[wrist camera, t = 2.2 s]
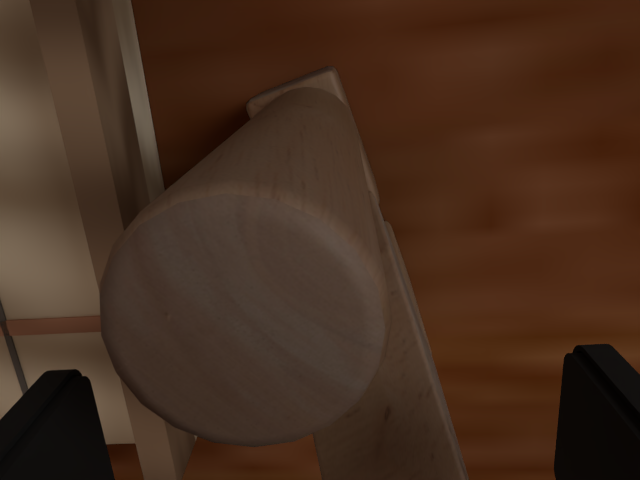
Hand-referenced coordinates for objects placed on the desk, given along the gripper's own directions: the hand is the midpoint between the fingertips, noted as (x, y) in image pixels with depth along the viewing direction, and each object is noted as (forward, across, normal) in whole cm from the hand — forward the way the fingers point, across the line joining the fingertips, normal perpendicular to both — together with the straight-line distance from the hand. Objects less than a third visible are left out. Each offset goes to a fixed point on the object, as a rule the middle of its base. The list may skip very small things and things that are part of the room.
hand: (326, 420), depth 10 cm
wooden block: (+15, 0, -1) cm, 15 cm away
